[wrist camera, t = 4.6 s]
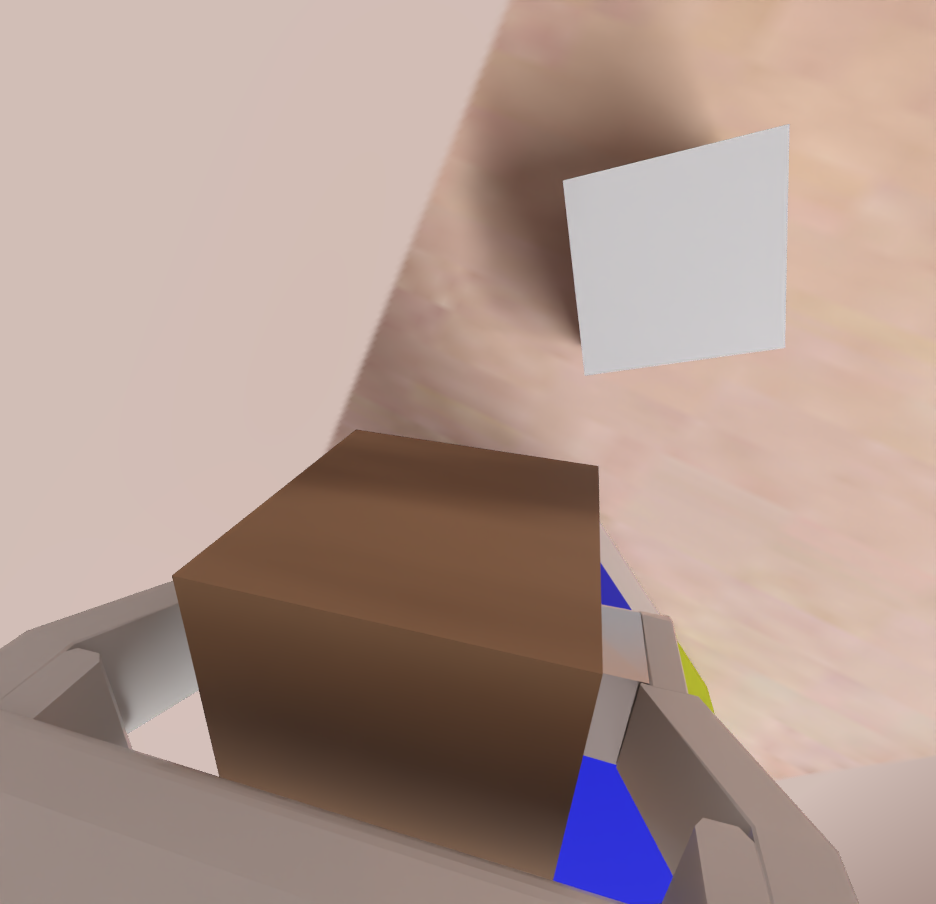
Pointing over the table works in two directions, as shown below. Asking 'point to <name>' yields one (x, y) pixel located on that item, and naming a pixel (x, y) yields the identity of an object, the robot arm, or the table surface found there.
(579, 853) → the puzzle toy
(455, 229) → the table surface
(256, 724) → the walnut block
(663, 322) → the grey block
